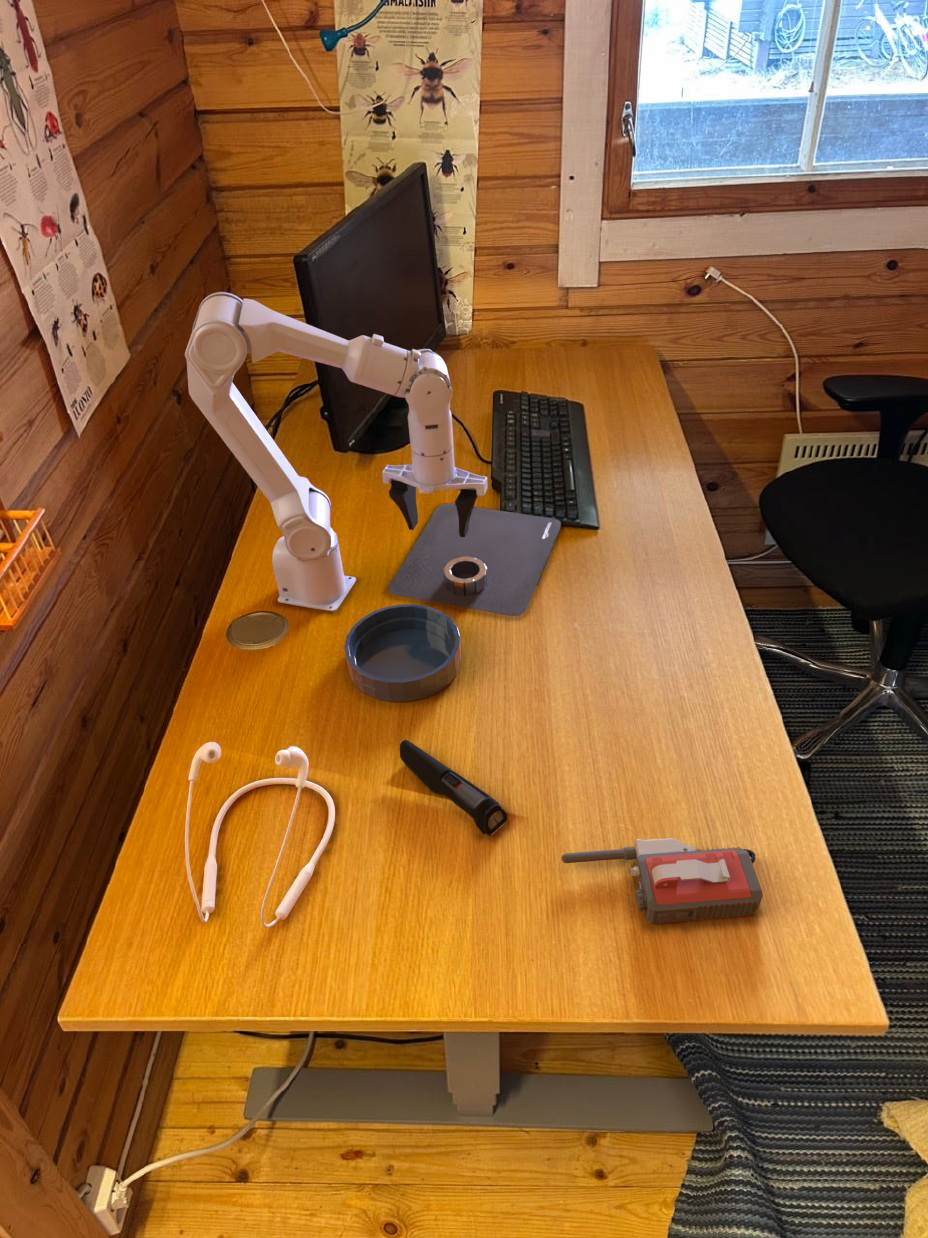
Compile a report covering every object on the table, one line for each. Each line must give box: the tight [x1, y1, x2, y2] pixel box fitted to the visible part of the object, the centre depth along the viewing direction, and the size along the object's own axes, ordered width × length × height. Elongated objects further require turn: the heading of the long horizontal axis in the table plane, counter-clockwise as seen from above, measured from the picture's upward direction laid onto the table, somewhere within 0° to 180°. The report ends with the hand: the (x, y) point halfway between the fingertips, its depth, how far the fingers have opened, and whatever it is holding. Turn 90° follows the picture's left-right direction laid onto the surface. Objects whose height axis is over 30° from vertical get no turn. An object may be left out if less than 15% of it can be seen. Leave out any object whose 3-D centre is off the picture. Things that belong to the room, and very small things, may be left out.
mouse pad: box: [387, 503, 562, 617], centre depth 133 cm, size 25×21×1 cm
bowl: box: [343, 603, 462, 703], centre depth 115 cm, size 15×15×4 cm
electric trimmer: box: [399, 739, 508, 837], centre depth 99 cm, size 4×16×3 cm, turn 45°
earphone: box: [184, 741, 336, 929], centre depth 93 cm, size 14×17×18 cm
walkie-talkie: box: [561, 837, 764, 925], centre depth 88 cm, size 9×4×20 cm
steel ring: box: [444, 557, 487, 597], centre depth 127 cm, size 6×6×3 cm
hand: (438, 529), depth 123 cm, fingers open, 7 cm apart
